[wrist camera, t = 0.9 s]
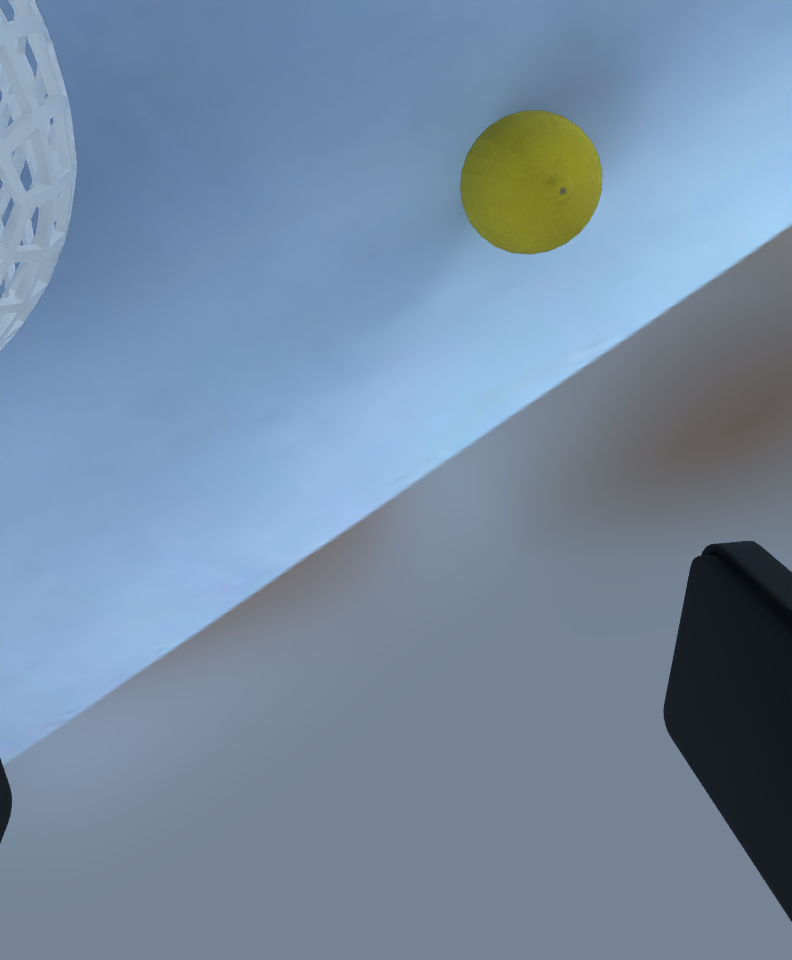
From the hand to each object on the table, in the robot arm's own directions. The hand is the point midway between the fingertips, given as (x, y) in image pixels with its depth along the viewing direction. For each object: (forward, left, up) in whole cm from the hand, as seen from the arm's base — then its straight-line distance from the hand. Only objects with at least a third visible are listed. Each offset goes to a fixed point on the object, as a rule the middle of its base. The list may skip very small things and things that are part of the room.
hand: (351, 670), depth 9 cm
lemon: (-10, +4, -28) cm, 30 cm away
